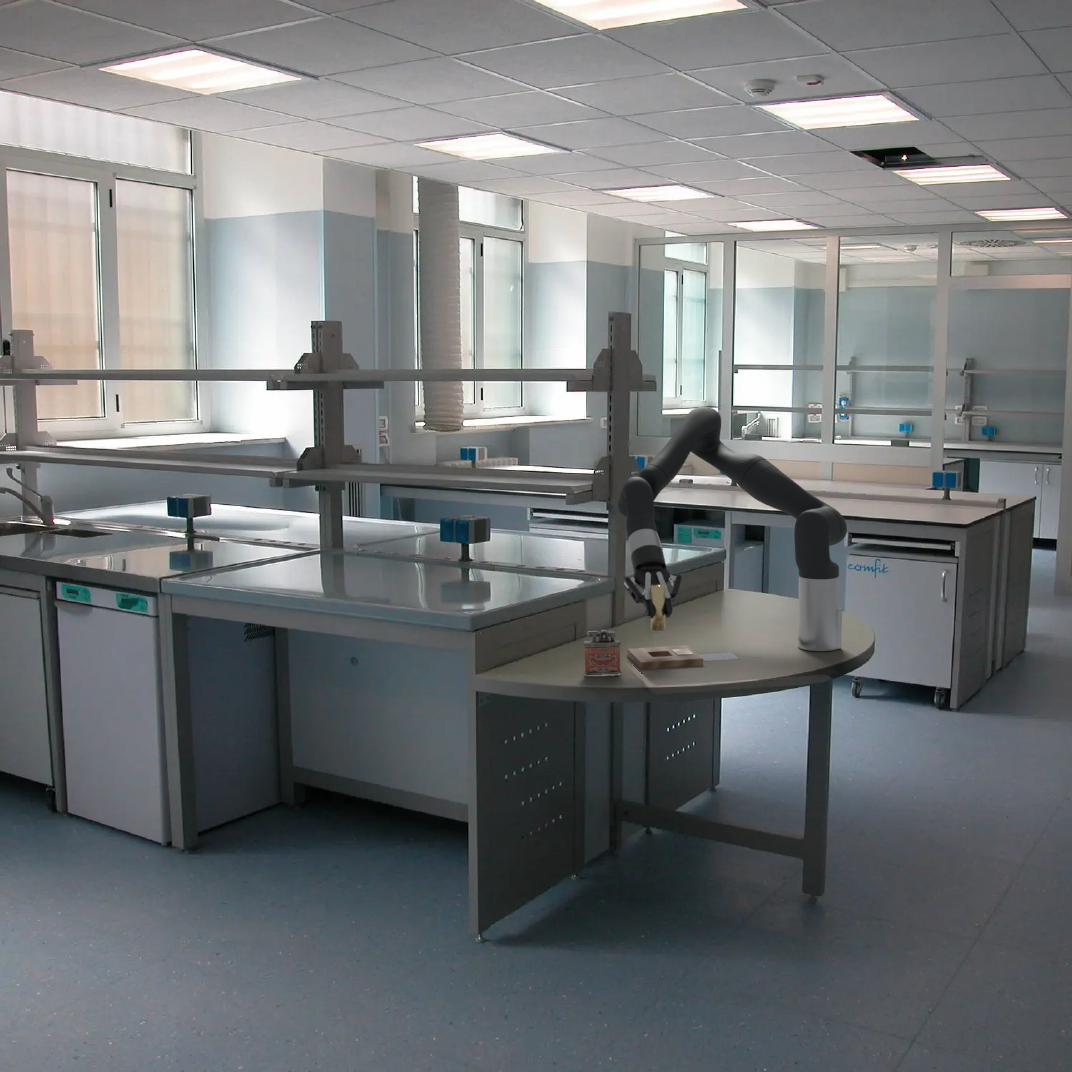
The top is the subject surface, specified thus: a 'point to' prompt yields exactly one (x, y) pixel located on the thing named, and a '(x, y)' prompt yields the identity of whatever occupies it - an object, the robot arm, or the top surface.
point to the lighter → (602, 653)
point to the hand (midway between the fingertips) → (660, 615)
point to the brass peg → (658, 607)
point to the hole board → (664, 657)
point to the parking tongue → (718, 656)
